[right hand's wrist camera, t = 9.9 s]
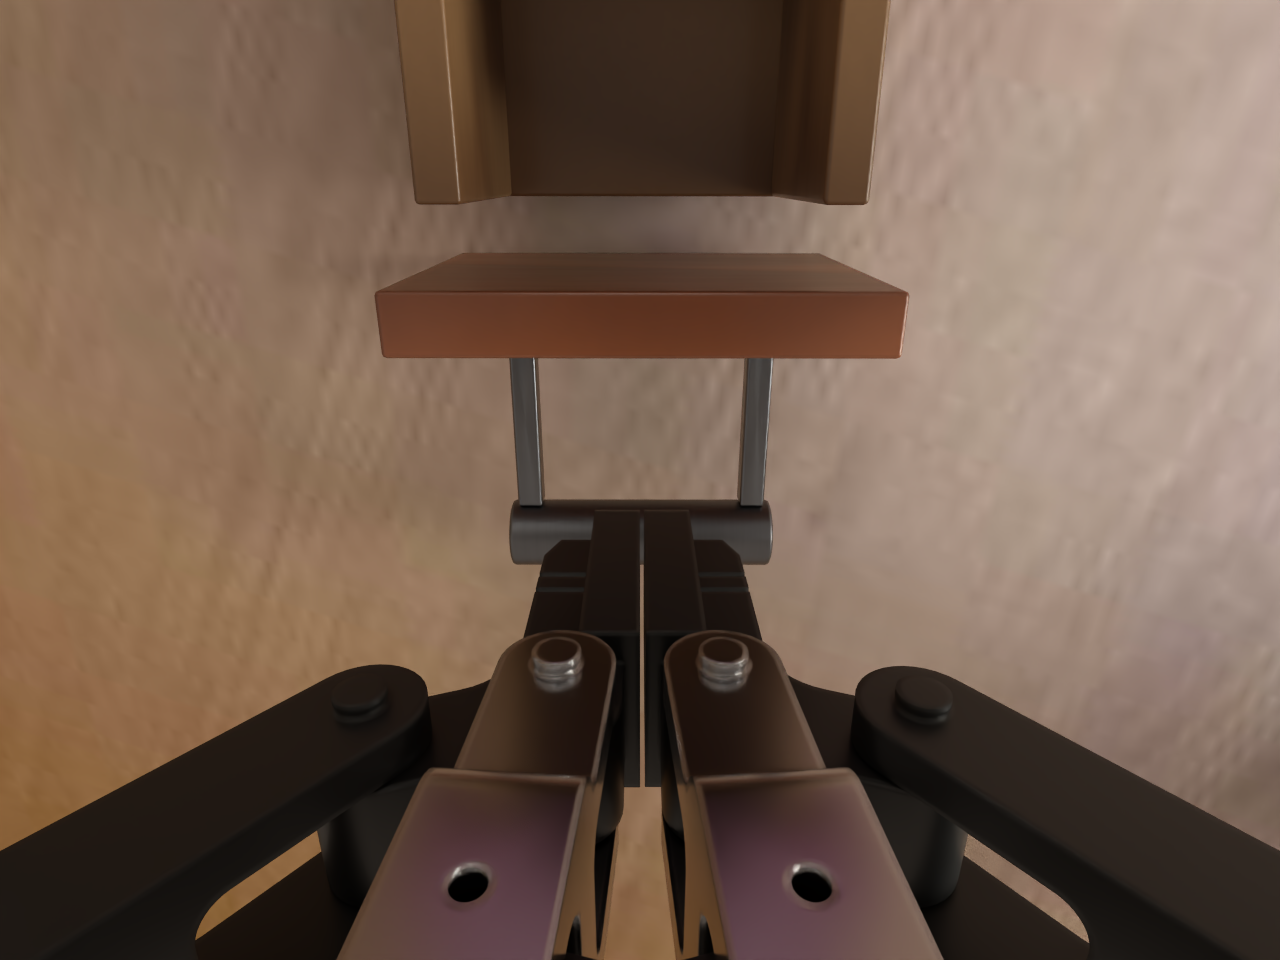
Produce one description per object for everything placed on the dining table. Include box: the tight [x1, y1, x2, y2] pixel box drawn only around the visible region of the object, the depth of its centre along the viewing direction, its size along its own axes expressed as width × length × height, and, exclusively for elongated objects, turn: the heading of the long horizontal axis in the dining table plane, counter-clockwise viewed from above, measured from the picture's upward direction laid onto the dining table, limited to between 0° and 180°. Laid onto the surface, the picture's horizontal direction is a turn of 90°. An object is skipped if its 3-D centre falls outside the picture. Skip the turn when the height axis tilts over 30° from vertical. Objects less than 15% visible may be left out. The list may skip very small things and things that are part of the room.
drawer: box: [375, 0, 909, 565], centre depth 15 cm, size 24×9×7 cm, turn 0°
